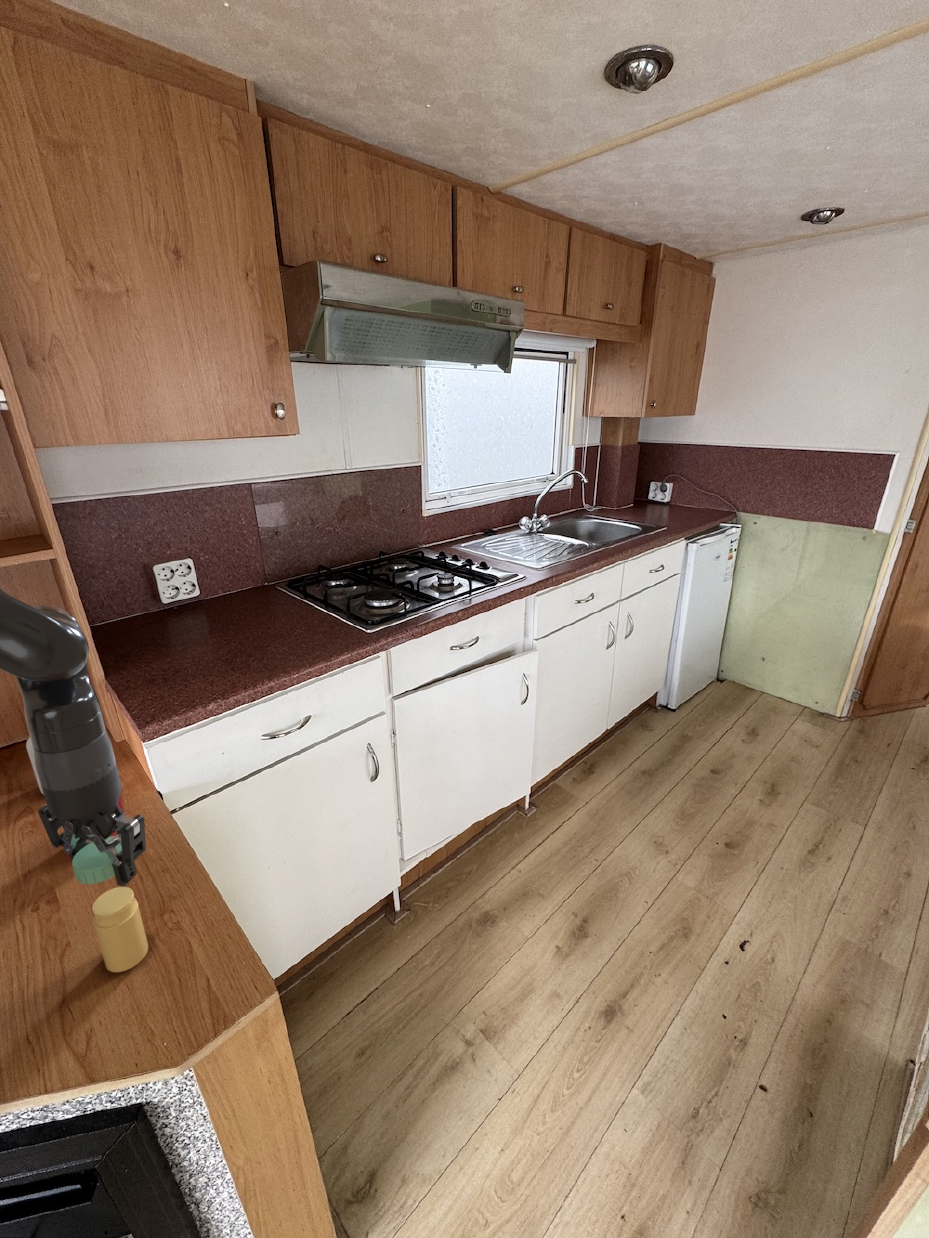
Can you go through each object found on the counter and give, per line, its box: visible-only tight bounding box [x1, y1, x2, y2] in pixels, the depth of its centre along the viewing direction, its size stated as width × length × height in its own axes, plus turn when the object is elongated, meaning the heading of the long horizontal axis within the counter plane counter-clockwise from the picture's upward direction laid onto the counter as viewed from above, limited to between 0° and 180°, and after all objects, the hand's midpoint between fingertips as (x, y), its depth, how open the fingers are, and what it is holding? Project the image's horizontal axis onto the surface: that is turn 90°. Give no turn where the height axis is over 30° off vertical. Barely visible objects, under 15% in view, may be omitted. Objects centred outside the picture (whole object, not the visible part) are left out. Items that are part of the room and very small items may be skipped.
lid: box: [71, 836, 122, 885], centre depth 70 cm, size 6×6×2 cm
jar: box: [91, 886, 149, 973], centre depth 73 cm, size 5×5×10 cm
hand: (106, 875), depth 71 cm, fingers closed on lid, 6 cm apart
